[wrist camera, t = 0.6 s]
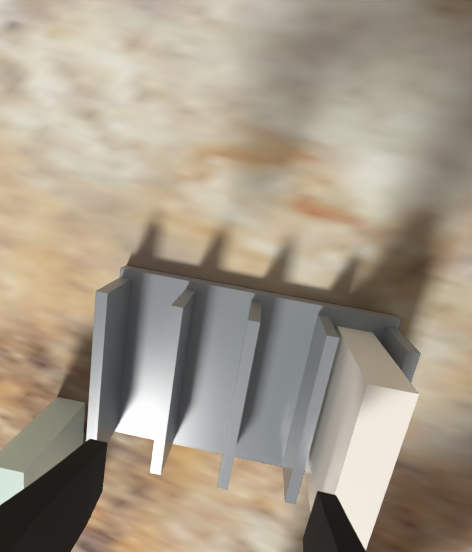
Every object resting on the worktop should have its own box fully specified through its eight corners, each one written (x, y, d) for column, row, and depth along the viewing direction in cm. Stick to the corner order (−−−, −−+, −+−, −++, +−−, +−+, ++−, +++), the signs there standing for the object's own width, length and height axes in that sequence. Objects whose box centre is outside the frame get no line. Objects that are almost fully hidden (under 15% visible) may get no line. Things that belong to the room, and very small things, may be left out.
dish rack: (348, 471, 22) (365, 527, 18) (112, 421, 23) (82, 465, 19) (395, 315, 19) (425, 344, 16) (126, 265, 20) (94, 281, 16)
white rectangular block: (334, 464, 21) (360, 567, 15) (303, 457, 21) (316, 557, 15) (372, 332, 19) (419, 394, 13) (337, 326, 19) (367, 383, 13)
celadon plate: (79, 506, 25) (22, 600, 19) (53, 500, 25) (-11, 592, 19) (86, 401, 23) (23, 472, 17) (57, 396, 23) (-14, 464, 17)
